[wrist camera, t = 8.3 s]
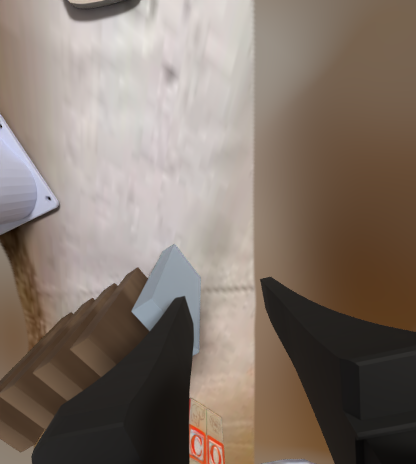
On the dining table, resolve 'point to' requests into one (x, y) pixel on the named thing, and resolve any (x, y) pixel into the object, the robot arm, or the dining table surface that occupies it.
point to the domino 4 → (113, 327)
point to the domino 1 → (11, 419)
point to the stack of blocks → (205, 435)
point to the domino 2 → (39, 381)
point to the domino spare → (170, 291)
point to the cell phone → (92, 3)
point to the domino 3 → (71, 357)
